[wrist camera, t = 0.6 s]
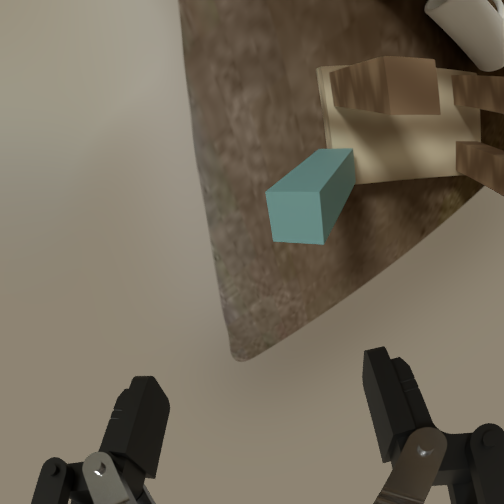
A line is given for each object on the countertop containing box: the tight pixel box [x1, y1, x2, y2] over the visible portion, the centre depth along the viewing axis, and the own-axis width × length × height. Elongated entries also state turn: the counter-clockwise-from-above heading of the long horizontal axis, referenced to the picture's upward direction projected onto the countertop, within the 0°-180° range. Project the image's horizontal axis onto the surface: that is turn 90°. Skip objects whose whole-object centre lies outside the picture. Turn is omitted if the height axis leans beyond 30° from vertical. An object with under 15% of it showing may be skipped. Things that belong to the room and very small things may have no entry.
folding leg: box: [266, 148, 356, 245], centre depth 26 cm, size 4×4×14 cm
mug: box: [424, 0, 504, 72], centre depth 20 cm, size 12×10×8 cm
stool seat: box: [316, 56, 504, 196], centre depth 23 cm, size 13×20×18 cm, turn 100°
